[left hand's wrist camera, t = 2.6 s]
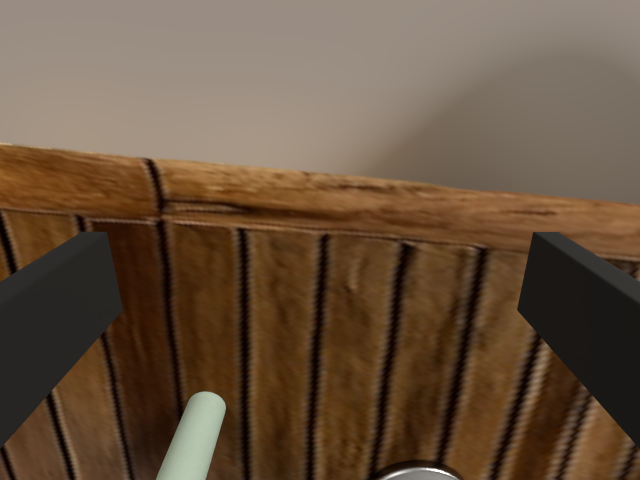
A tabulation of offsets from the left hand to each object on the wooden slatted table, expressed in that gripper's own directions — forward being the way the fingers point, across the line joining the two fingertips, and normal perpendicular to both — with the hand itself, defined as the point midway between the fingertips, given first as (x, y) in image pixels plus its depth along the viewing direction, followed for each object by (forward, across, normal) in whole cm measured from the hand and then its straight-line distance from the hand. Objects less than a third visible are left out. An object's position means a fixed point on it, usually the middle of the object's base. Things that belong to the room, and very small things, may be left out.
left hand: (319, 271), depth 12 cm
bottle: (+28, +14, +32) cm, 45 cm away
